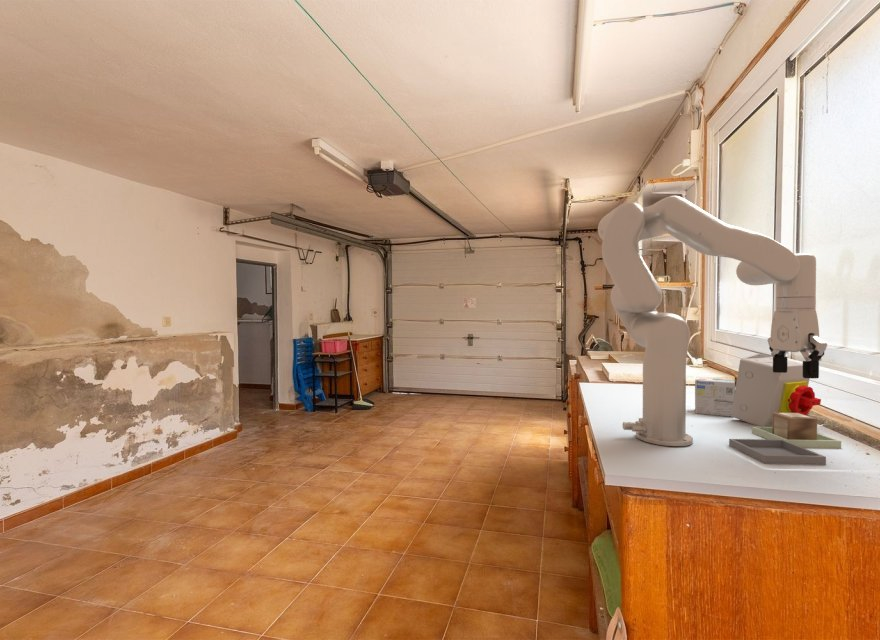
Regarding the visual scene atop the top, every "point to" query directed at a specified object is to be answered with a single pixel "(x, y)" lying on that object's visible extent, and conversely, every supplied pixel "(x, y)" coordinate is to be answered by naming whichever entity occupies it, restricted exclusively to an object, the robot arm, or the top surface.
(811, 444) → the green tray
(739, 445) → the grey tray
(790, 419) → the letter block
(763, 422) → the electrical switch box
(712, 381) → the light bulb box
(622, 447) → the top surface
